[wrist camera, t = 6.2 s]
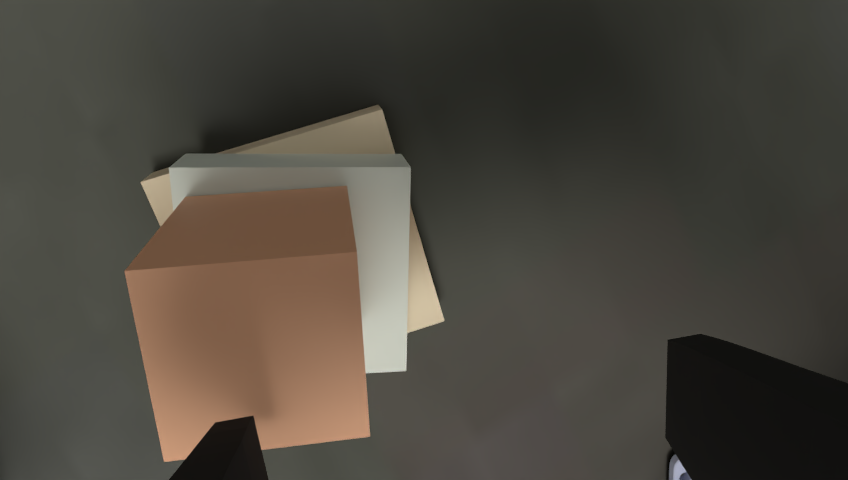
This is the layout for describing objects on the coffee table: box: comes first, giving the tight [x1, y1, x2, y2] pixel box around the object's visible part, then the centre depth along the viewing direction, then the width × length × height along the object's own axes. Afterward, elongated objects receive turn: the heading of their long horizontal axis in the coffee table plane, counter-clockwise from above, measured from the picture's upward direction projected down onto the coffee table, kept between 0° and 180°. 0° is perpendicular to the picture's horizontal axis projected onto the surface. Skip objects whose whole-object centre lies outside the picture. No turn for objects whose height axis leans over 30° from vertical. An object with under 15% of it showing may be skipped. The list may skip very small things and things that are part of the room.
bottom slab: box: [141, 105, 444, 333], centre depth 19 cm, size 7×7×2 cm
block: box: [125, 186, 370, 462], centre depth 14 cm, size 4×4×5 cm
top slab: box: [169, 154, 411, 373], centre depth 17 cm, size 6×6×2 cm
